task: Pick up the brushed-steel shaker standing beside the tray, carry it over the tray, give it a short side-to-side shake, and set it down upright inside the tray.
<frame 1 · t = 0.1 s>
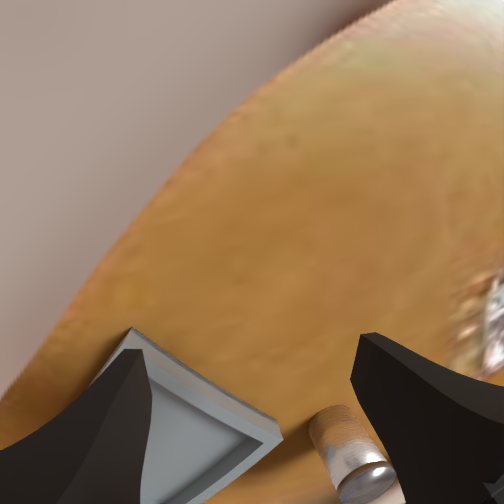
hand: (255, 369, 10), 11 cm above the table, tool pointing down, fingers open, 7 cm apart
shaker: (330, 423, 23), on the table
tray: (150, 441, 21), on the table
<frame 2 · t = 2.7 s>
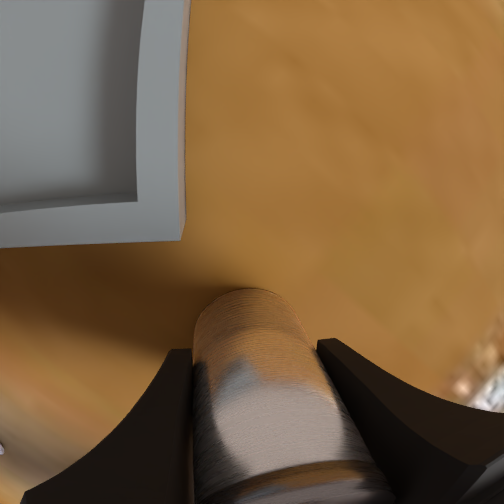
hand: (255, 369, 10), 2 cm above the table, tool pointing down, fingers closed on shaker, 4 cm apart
shaker: (247, 336, 12), on the table, touching gripper
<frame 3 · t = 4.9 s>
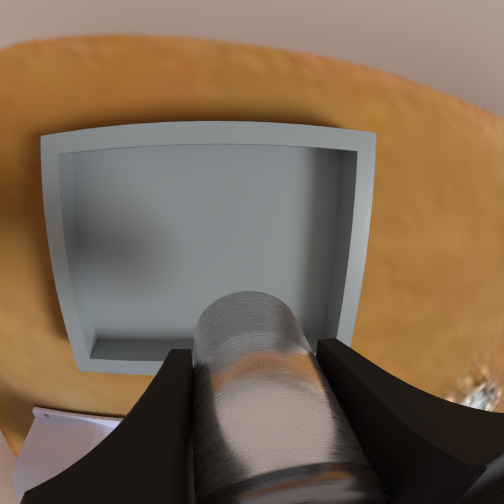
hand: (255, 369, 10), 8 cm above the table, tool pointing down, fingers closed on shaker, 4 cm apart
shaker: (246, 337, 12), point 6 cm above the table, touching gripper
tray: (206, 249, 17), on the table
when the fingers open (4 cm above the table, at t = 7.2 s): shaker stays where it is, resting on tray.
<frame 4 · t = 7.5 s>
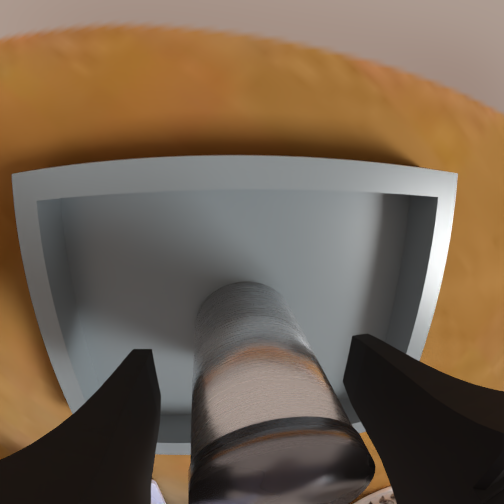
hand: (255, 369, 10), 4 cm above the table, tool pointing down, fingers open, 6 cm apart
decorative candle: (374, 503, 23), on the table
shaker: (244, 326, 13), point 1 cm above the table, touching tray
tray: (242, 313, 13), on the table
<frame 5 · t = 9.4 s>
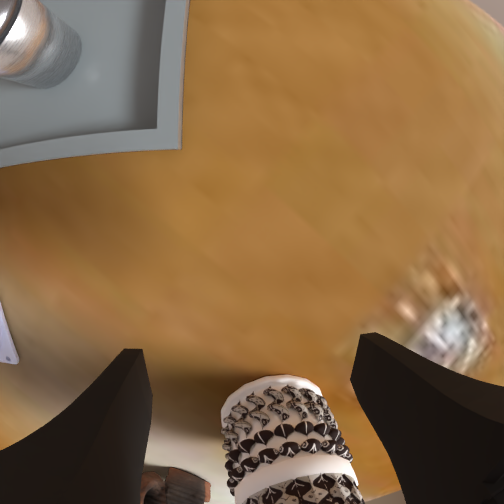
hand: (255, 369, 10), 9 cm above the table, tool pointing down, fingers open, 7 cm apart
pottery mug: (161, 480, 25), on the table
decorative candle: (272, 411, 23), on the table
shaker: (51, 57, 13), point 1 cm above the table, touching tray
tray: (56, 55, 13), on the table
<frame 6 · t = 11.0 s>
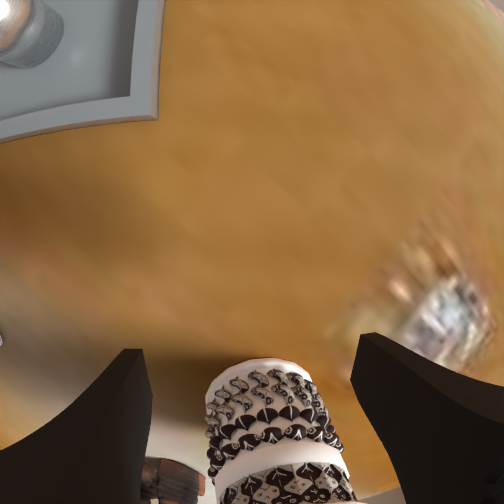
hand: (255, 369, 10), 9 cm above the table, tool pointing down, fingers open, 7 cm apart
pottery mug: (154, 473, 25), on the table
decorative candle: (259, 398, 22), on the table
shaker: (36, 38, 12), point 1 cm above the table, touching tray
tray: (40, 38, 12), on the table
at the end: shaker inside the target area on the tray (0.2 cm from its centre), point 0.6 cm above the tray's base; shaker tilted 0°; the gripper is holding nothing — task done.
